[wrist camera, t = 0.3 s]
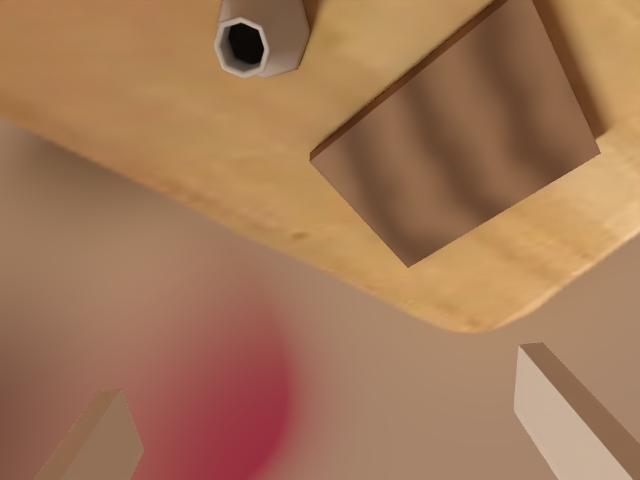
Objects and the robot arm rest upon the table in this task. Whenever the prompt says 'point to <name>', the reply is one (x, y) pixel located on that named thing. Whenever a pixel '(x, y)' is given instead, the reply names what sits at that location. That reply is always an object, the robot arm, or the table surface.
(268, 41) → the flask
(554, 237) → the table surface
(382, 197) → the walnut board
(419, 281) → the table surface
